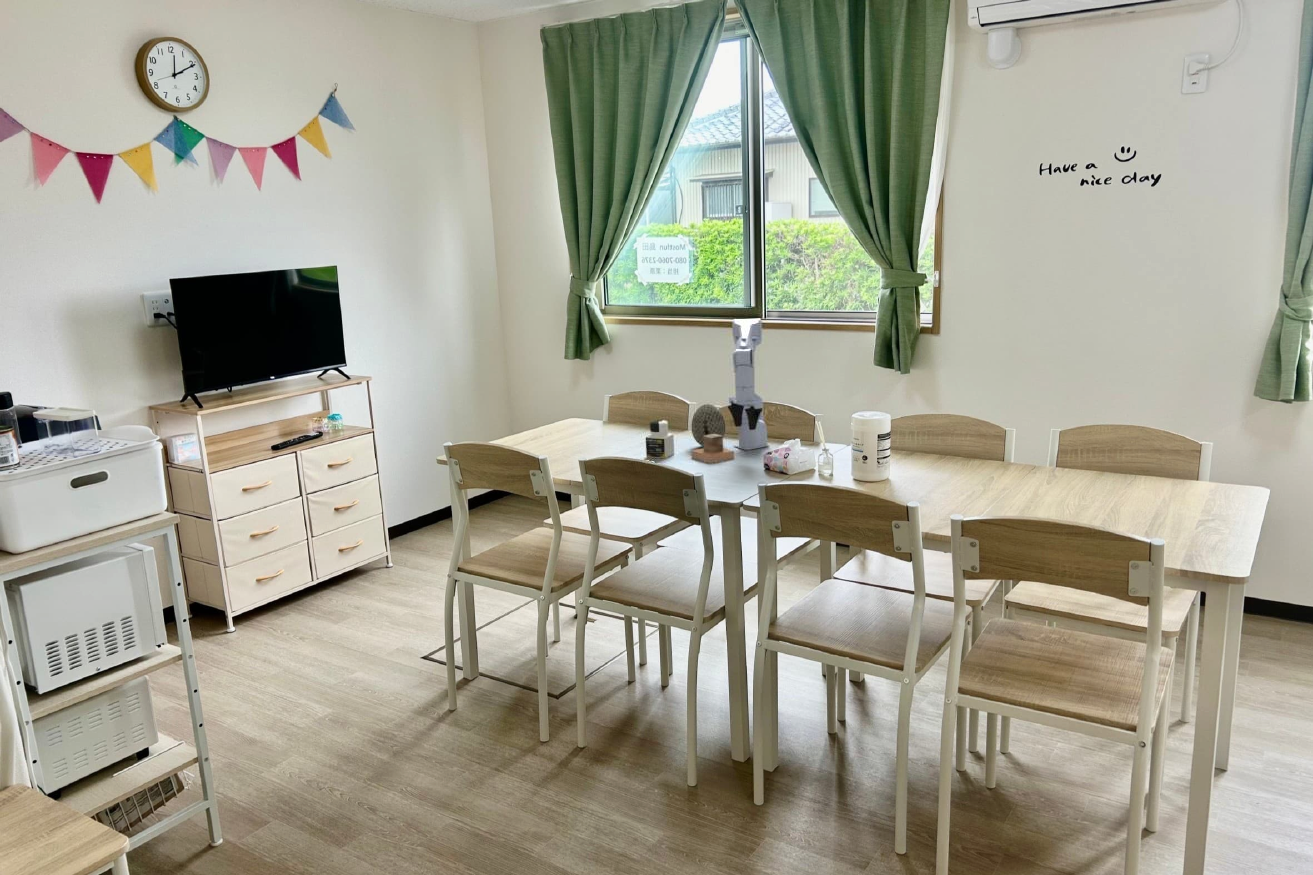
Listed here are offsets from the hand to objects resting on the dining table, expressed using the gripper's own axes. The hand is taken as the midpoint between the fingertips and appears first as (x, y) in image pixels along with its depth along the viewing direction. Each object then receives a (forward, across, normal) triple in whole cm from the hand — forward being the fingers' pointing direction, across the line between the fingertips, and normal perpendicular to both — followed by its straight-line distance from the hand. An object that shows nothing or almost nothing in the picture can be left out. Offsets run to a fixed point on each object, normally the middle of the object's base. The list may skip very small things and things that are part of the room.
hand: (745, 427), depth 310 cm
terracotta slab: (+11, -9, -7) cm, 16 cm away
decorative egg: (+11, -24, +2) cm, 26 cm away
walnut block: (+8, -9, -7) cm, 14 cm away
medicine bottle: (+11, -24, -18) cm, 32 cm away
